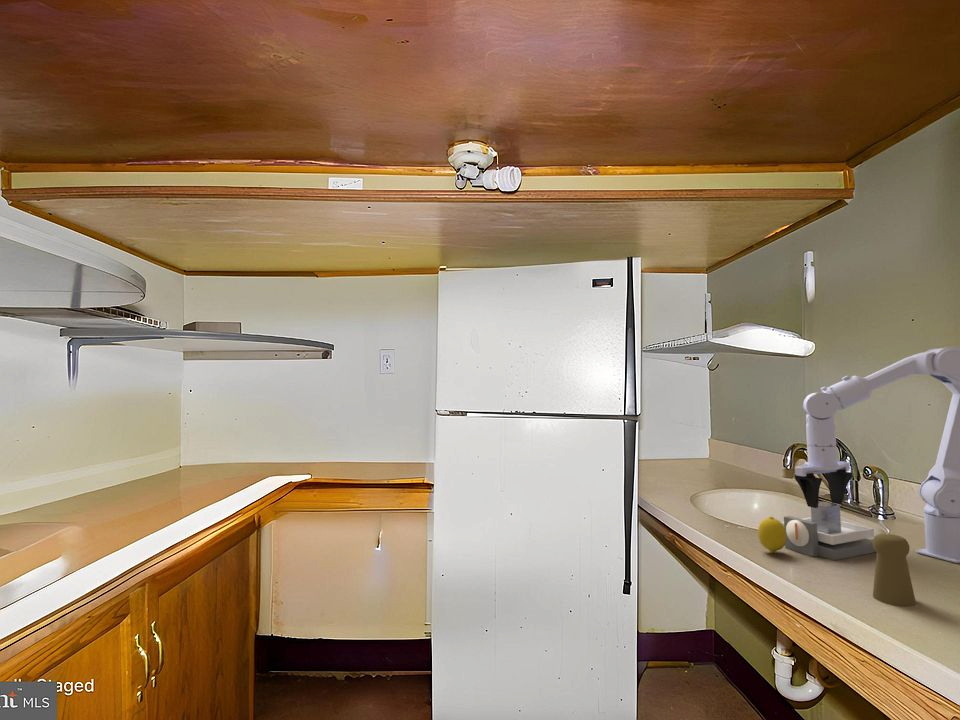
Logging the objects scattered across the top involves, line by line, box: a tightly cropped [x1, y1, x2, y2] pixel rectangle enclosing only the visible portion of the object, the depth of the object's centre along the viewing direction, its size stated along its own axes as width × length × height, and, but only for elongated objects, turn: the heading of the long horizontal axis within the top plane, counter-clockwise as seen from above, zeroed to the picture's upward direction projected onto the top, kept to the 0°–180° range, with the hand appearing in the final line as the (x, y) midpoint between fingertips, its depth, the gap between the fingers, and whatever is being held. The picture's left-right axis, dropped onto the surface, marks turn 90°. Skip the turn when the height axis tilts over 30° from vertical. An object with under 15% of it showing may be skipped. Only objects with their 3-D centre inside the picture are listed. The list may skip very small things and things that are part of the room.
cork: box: [872, 533, 917, 607], centre depth 96 cm, size 6×6×11 cm
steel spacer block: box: [810, 501, 842, 534], centre depth 125 cm, size 4×4×6 cm
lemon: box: [757, 516, 786, 554], centre depth 122 cm, size 6×6×8 cm
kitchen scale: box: [780, 515, 877, 561], centre depth 125 cm, size 16×14×7 cm
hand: (824, 505), depth 125 cm, fingers open, 7 cm apart
